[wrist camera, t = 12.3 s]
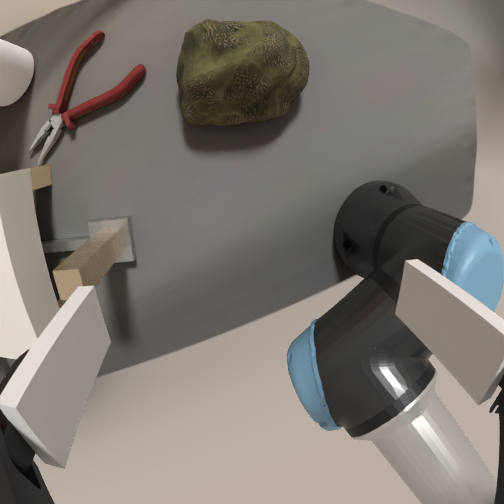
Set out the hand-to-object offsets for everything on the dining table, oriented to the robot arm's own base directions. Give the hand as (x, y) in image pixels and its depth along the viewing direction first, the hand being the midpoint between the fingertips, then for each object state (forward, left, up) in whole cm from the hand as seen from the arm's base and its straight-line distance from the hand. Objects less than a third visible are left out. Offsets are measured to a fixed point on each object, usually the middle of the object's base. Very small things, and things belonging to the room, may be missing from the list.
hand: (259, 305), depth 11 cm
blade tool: (+19, +19, -29) cm, 39 cm away
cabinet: (+23, +22, -29) cm, 43 cm away
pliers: (+27, -2, -29) cm, 40 cm away
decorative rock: (+7, -14, -29) cm, 33 cm away
